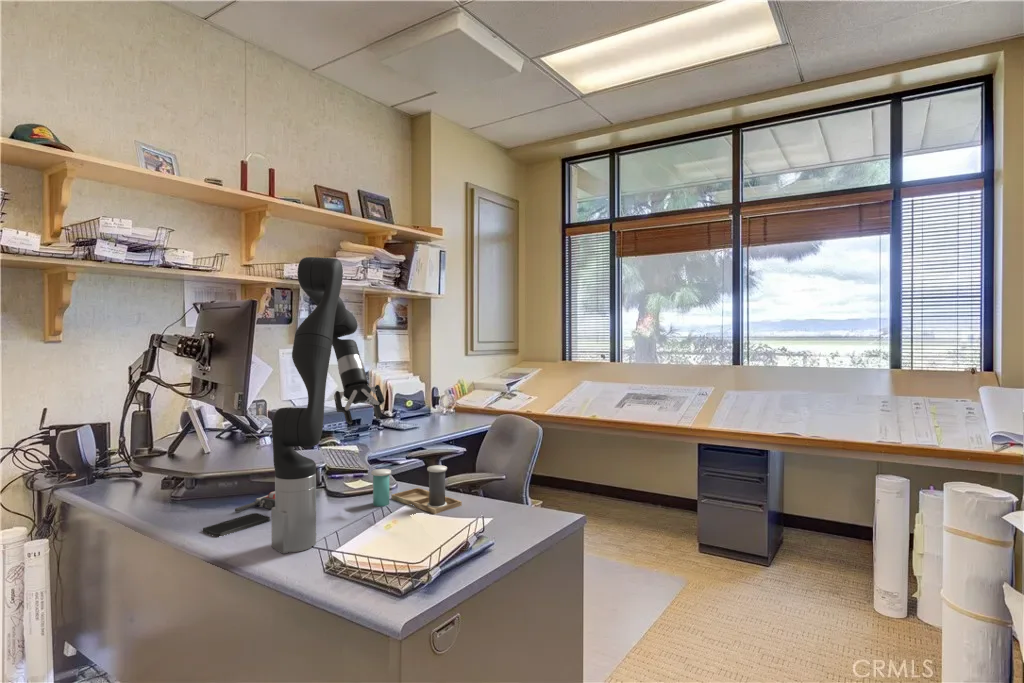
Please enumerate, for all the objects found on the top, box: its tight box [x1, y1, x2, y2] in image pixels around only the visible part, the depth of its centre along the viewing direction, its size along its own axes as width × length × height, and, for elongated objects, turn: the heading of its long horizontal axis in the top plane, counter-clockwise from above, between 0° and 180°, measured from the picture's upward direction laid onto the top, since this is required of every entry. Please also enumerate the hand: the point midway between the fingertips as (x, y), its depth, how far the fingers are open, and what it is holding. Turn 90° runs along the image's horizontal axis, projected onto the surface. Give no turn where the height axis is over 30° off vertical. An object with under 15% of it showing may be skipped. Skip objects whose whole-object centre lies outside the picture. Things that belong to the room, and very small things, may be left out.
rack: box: [390, 487, 463, 515], centre depth 166 cm, size 20×10×3 cm, turn 48°
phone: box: [202, 512, 271, 538], centre depth 149 cm, size 8×1×15 cm
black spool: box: [426, 464, 448, 509], centre depth 162 cm, size 6×6×11 cm
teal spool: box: [370, 468, 392, 508], centre depth 163 cm, size 6×6×11 cm
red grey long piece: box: [234, 490, 275, 513], centre depth 166 cm, size 9×4×20 cm
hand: (364, 420), depth 170 cm, fingers open, 8 cm apart
